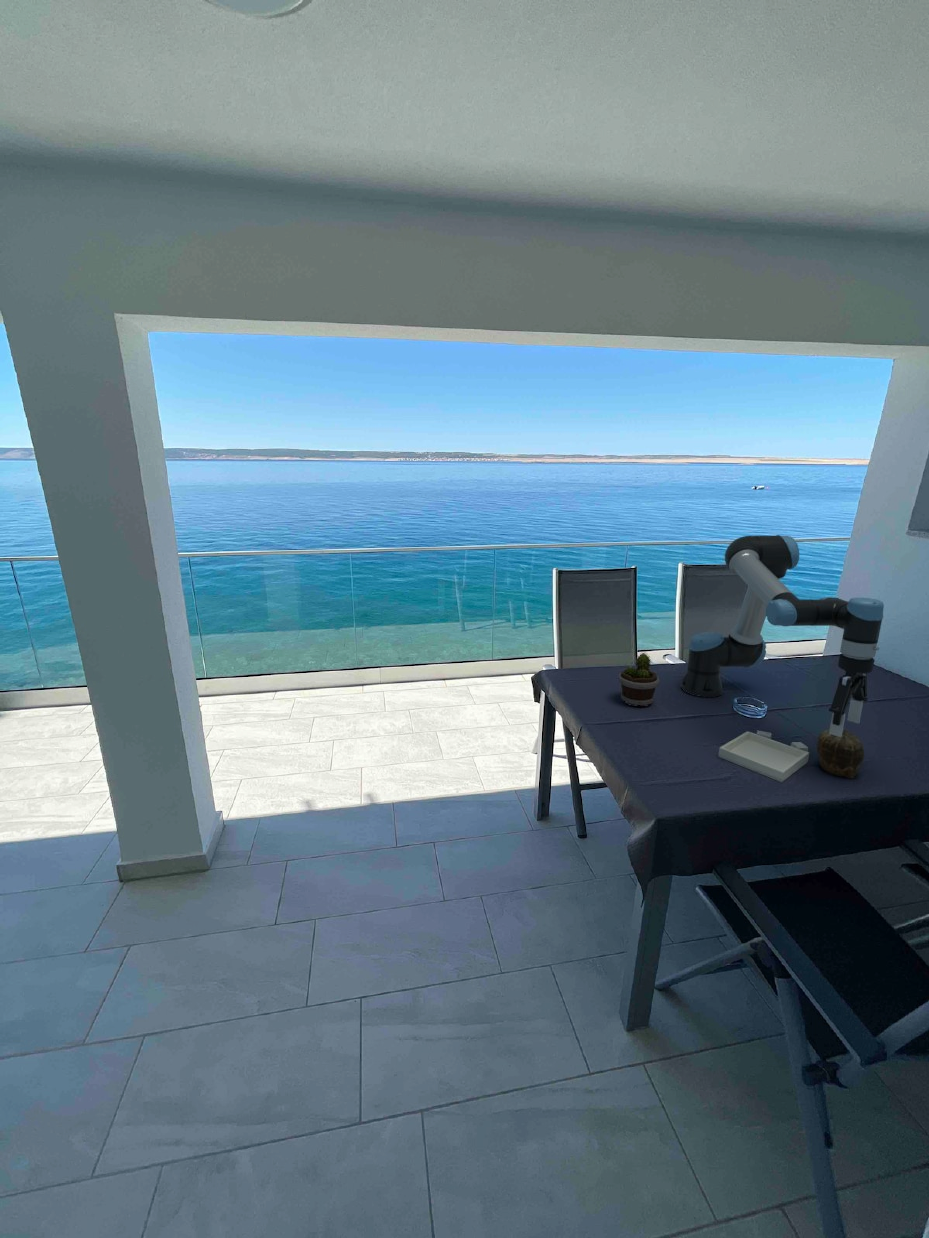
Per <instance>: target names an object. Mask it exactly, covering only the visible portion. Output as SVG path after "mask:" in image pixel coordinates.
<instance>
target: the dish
mask: <svg viewBox="0 0 929 1238" xmlns="http://www.w3.org/2000/svg"><path fill="white" fill-rule="evenodd" d="M717 756H718V758H720V759H722V760H726V761H728V762H730V763H733V764H735V765H738V766H740V767H743V768H745V769H747V770H750V771H753V772H756V773H757V774H760V775H763V776H765V777H768V778H770V779H772V780H775V781H777V782H780V783H784V781H785V780H787V779H788V778H790V777H791V776H792V775H793V774H794V773H796V772H797V771H798V770H800V769H801V768H802V767H803V766H805V765H806V764H808V762H809V757H810V752H809V751H808V752H806V751H803V750H800V749H797V748H794V747H791V745H788V744H785V743H782V742H781V741H780V742H779V741H777V740H773V739H772V738H771V739H768V738H766V737H763V736H760V735H757V733H754V732H751V731H747V730H746V731H745V732H744V733H742V734H740V735H738V736H737V737H736V738H734V739H732V740H731V741H728V742H727V743H725V744H723V745H721V746H719V748H718V755H717Z"/></svg>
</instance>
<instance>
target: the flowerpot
mask: <svg viewBox="0 0 929 1238" xmlns="http://www.w3.org/2000/svg"><path fill="white" fill-rule="evenodd" d="M650 658H651V656H650V655H648V654H647V652H646V651H643V652H641V653H639V654H638V655H637V656H636V659H635V662H634V664H635V667H634V666H628V667H627V665H626V667H625V668H626V669H623V670H622V671H621V672H620V673H619V674H618V676H617V677H618V679H617V681H618V684H620V685H621V690H622V691H621V692H620V696H621V700H622V701H623V702H624V701H625V702H627V703H628V704H631V706H632V705H640V706H644V707H645V705H649V704H650V705H651V704H653V702H654V699H655V696H654V693H655V692H656V688H658V687H659V686H660V685H659V684H660V678H659V677H658V675H657V674H656V672H653V671H651V667H652V664H651V663H652V662H653V660H652V658H651V659H650ZM650 705H649V706H650ZM640 706H639V707H640Z"/></svg>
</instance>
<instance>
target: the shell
mask: <svg viewBox="0 0 929 1238" xmlns="http://www.w3.org/2000/svg"><path fill="white" fill-rule="evenodd" d="M829 731H830V728H828V729H825V730H823V731H822V732H821V733H819V735H818V736H817V743H816V751H817V754H818V755H819V764H820V767H821V768H822V769H823V771H826V772H827V773H829V774H831V775H834V776H837V777H840V778H847V779H854V777H855V776H856V775H857V774H858V773H859V772H860V771H859V770H860V768H861V765H862V763H863V761H864V759H865V751H864V746H863V743H862V741H861V739H860V738H859V736H857V735H855V734H854V733H852V732H849V731H847V730H845V729H843V732H842V737H838V736H835V735H832V734H829Z"/></svg>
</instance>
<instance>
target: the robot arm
mask: <svg viewBox="0 0 929 1238" xmlns="http://www.w3.org/2000/svg"><path fill="white" fill-rule="evenodd" d="M724 562H725V566H726V567H727V569H728V570H729V571H730V572H731V574H734V575H736V576H739V577H740V578H741V579H742V580H743V582H744V583H745V584H746V585H747V589H746V593H745V595H744V599H743V602H742V605H741V609H740V611H739V614H738V618H737V622H736V625H735V627H733V628H731V629H730V631H729V633H728V636H725V637H724V635H723V634H721V633H719V632H712V631H711V632H709V631H706V632H705V631H704V632H700V633H696V634H694V635H693V636H692V637H691V638H690V642H689V647H688V648H689V649H688V659H687V661H688V662H687V669H686V672H685V674H684V677H683V679H682V681H681V683H680V688H681V687H682V688H683V689H684V690H685V691H687V692H689V693H691V694H694V695H700V696H705V697H704V698H706V697H713V698H717V697H716V696H719V695H721V696H722V695H723V684H722V680H721V676H720V672H721V667H725V668H726V667H730V668H731V667H743V668H750V667H756V666H758V665H760V664H761V663H763V662H764V660H765V658H766V654H767V650H766V649H767V645H766V642H765V640H764V639H763V635H761V633H762V629H763V627H764V624H765V621H766V620H767V622H768V623H769V624H770V625H772V626H777V627H778V626H779V627H781V626H782V627H800V626H801V627H804V626H805V627H809V626H811V627H812V626H813V627H814V626H815V627H816V626H818V627H822V626H823V627H825V626H827V627H828V626H829V627H836V628H839V629H842V630H843V631H842V633H843V635H842V639H841V644H840V650H839V651H840V654H839V658H838V663H837V666H838V668H840V669H841V670H843V671H845V672H844V674H843V675H841V676H839V678H838V683H837V687H836V690H835V693H834V697H833V700H832V702H831V705H830V707H829V708H828V712H830V713H832V714H831V721H830V725H829V729H830V731H829V734H832V735H835V736H838V737H842V732H843V730H844V724H845V721H846V711H847V710H846V709H847V707H848V705H849V707H848V708H849V709H848V715H847V721H848V722H851V723H855V724H860V721H861V717H862V711H863V704H864V702H868V699H869V698H868V697H867V696H868V674H870V673H872V672H873V670H874V666H875V665H874V664H875V657H876V653H877V651H880V647H879V646H878V643H879V642H878V641H879V637H880V634H881V633H880V632H881V626H882V623H883V618H884V607H885V605H884V602H883V601H881V600H880V599H877V598H870V597H852V598H850V599H849V600H848V601H847V600H844V599H842V598H840V597H835V596H834V597H832V596H824V597H821V598H820V599H819V598H818V599H811V598H810V599H800V598H798V597H797V595H795V594H794V593H793V592H792V591H791V590H790V589H789V588H788V587H787V586H786V585H785V584H784V583H783V582H782V581H781V579H783V578H785V577H786V574H787V571H788V570H792V569H794V568H795V567H796V566H797V565H798V564H799V562H800V548H799V545H798V542H797V541H796V540H795V538H793V537H792V536H789V535H780V534H776V535H745V536H741V537H738V538H735V539H734V540H732V542H731V543H729V545H728V546H727V548H726V550H725V554H724ZM766 618H767V619H766ZM694 695H693V696H694ZM719 697H720V696H719Z"/></svg>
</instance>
